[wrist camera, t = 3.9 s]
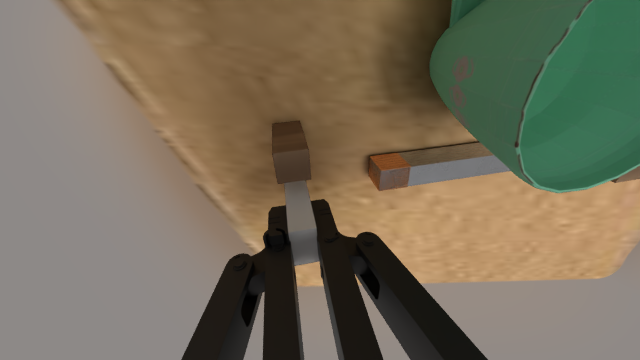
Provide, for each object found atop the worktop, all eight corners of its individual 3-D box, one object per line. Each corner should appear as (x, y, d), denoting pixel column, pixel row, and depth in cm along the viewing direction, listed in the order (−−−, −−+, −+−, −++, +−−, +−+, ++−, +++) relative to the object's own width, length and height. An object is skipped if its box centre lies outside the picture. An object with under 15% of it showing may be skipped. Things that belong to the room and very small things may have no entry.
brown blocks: (272, 123, 17) (272, 153, 13) (632, 84, 20) (724, 97, 16) (284, 196, 20) (287, 238, 16) (589, 151, 24) (655, 176, 20)
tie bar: (369, 156, 19) (381, 170, 17) (628, 122, 22) (663, 130, 20) (368, 175, 20) (379, 191, 18) (616, 140, 23) (648, 150, 21)
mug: (526, 85, 19) (730, 127, 10) (414, 145, 20) (516, 225, 12) (533, -207, 11) (1421, -1021, 2) (347, -80, 12) (519, -338, 4)
